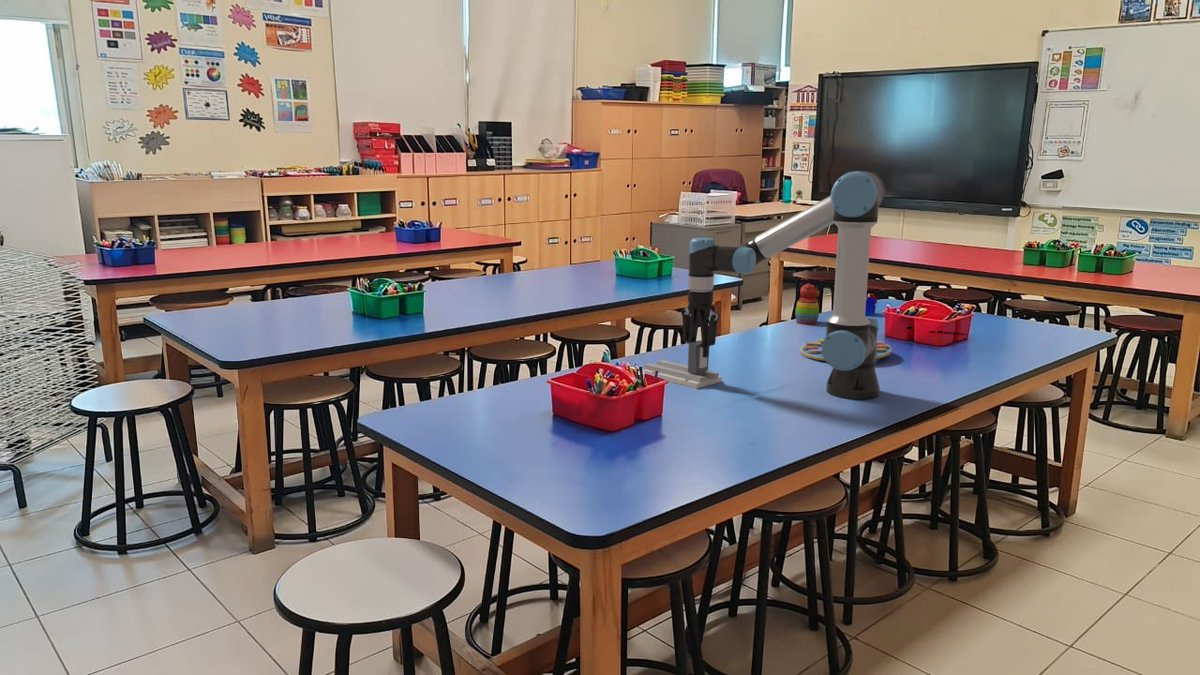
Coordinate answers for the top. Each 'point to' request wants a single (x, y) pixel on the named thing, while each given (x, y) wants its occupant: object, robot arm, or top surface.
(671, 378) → the panel
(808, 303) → the stacking bear
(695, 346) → the fader
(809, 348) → the shape sorting clock
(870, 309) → the fantasy tower
